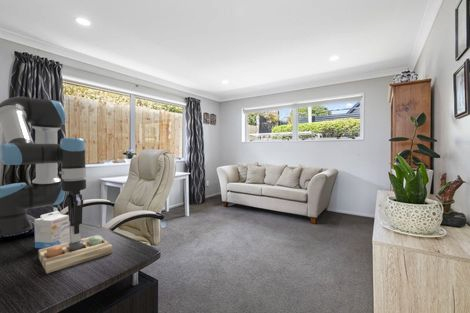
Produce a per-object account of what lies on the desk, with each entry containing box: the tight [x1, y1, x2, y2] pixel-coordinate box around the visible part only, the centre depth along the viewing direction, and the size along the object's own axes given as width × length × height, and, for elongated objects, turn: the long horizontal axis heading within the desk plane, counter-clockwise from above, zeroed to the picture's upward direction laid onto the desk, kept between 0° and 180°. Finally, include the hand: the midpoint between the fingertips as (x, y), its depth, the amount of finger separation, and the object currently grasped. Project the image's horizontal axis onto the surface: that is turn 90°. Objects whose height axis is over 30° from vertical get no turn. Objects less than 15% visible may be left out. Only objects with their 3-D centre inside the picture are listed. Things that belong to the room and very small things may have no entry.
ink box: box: [33, 210, 71, 249], centre depth 98 cm, size 9×8×13 cm
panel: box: [38, 234, 113, 274], centre depth 88 cm, size 16×20×3 cm
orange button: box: [47, 246, 62, 258], centre depth 83 cm, size 4×4×3 cm
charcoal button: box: [69, 240, 83, 252], centre depth 88 cm, size 4×4×3 cm
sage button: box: [89, 235, 103, 247], centre depth 93 cm, size 4×4×3 cm
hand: (76, 241), depth 88 cm, fingers closed
